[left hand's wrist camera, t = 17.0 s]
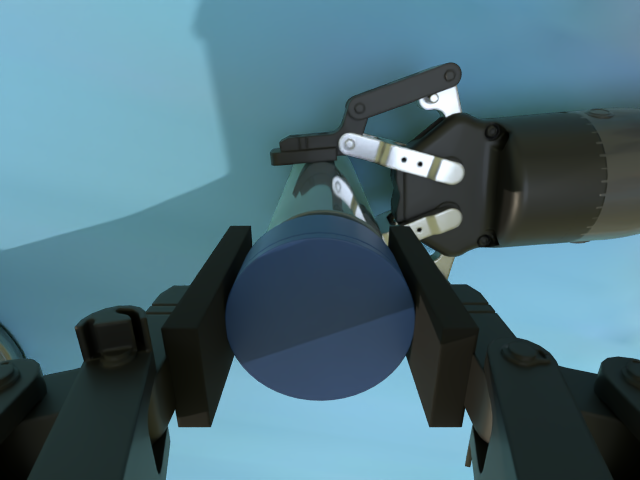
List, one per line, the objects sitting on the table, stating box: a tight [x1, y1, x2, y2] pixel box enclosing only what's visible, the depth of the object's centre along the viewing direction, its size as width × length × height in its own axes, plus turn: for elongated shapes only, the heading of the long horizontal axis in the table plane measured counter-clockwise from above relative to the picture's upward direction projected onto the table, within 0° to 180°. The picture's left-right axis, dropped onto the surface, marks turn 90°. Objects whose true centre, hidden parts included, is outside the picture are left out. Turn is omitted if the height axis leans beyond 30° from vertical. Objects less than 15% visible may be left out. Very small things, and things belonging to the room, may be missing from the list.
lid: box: [225, 215, 416, 401], centre depth 11 cm, size 5×5×2 cm
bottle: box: [267, 155, 386, 244], centre depth 20 cm, size 5×5×18 cm
